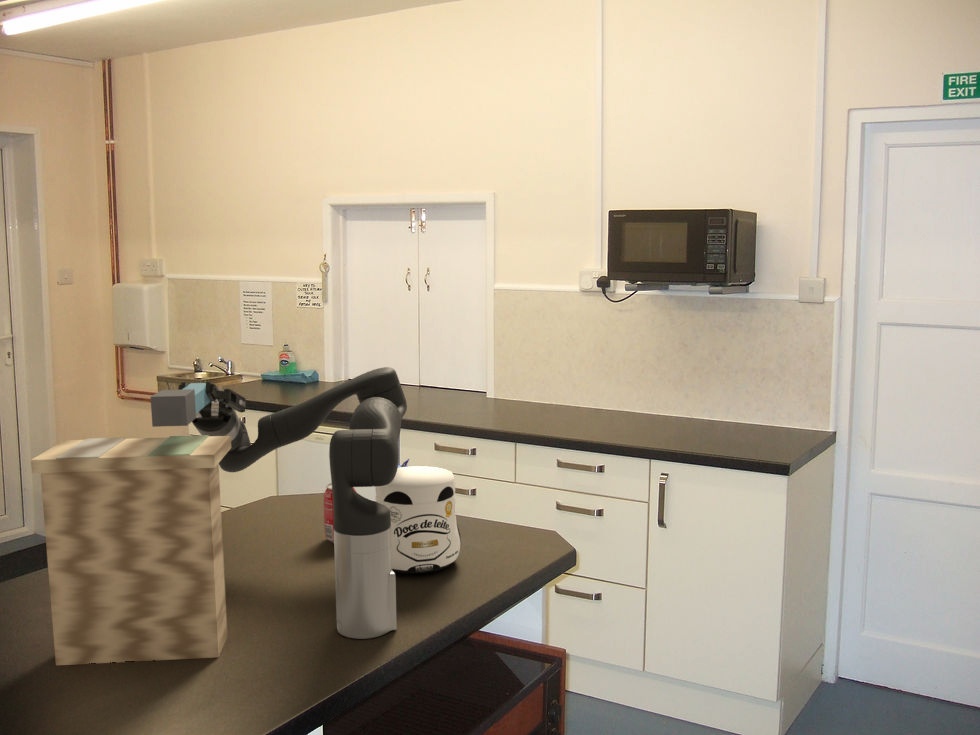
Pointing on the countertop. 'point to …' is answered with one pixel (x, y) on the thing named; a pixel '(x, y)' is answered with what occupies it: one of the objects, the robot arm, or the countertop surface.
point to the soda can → (329, 513)
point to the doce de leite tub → (421, 519)
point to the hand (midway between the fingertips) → (195, 387)
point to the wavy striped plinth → (135, 548)
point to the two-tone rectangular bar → (178, 405)
